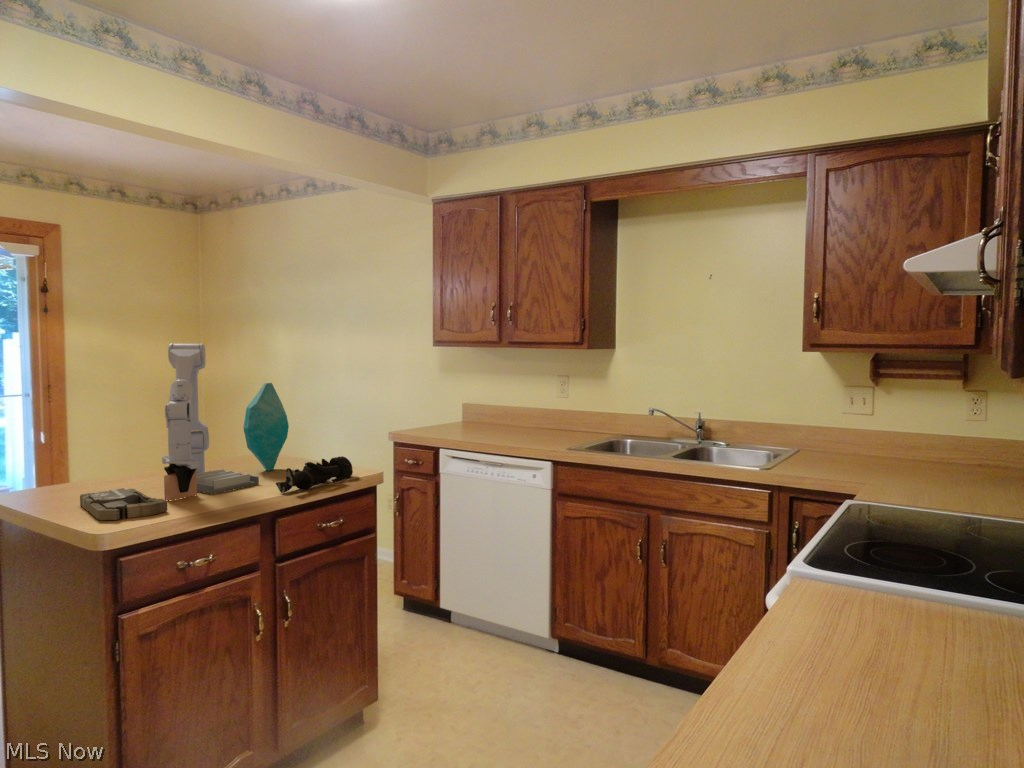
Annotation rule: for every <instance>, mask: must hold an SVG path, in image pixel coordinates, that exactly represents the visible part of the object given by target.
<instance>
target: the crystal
mask: <svg viewBox="0 0 1024 768" xmlns="http://www.w3.org/2000/svg"><path fill="white" fill-rule="evenodd" d="M242 427H243V433H244V437H245V442H246V446H247V447H246V448H247V449H248V450H249V451H250V452H251V453H252V454H253V455H254V457H255V458H256V459H257V461H258V462H259V463H260V464H261V465H262V467H263V468H264V469H265V470H266V471H267V470H268V471H267V472H271V471H270V470H273V471H274V469H275V467H276V463H277V462H278V461H277V460H278V459H279V455H280V454H281V452H282V449H283V448H284V447H283V446H284V445H285V443H286V441H287V438H288V433H289V421H288V415H287V413H286V410H285V407H284V405H283V403H282V401H281V399H280V397H279V394H278V392H277V391H276V389H275V387H274V385H273V383H272V382H263V384H262V386H261V387H260V389H259V390H258V391H257V393H256V394H255V396H254V397H253V398H252V399H251V400H250V402H249V403H248V405H247V406H246V409H245V415H244V420H243V426H242Z"/></svg>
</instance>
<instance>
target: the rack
mask: <svg viewBox="0 0 1024 768" xmlns="http://www.w3.org/2000/svg"><path fill="white" fill-rule="evenodd" d="M259 478H260V477H259V476H257V475H252V474H251V475H250V473H242V472H240V471H237V472H236V471H235V472H234V471H233V470H224V468H221V469H220V468H219V469H216V470H214V469H213V470H209V471H205V472H203V473H197V491H199V492H198V493H201V492H204V493H203V494H206V493H208V494H207V495H210V494H212V495H215V494H214V493H217V494H221V493H220V492H222V493H225V492H224V491H227V492H229V491H228V490H231V491H234V490H233V489H236V490H239V489H238V488H241V489H243V488H242V487H245V488H248V487H247V486H250V487H253V486H252V485H255V486H258V484H260V481H259Z"/></svg>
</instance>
